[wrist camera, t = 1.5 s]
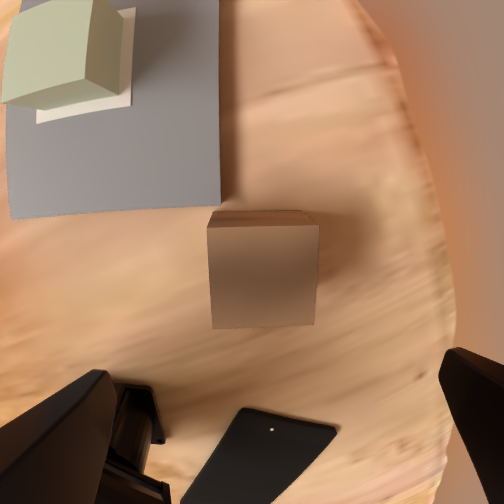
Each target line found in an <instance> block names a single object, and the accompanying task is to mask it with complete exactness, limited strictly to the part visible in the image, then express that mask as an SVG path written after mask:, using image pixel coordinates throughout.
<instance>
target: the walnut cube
mask: <svg viewBox="0 0 504 504" xmlns="http://www.w3.org/2000/svg"><path fill="white" fill-rule="evenodd" d="M207 245H208V264H209V281H210V296H211V310H212V324H213V329H232V328H261V327H282V326H299V325H314V318H315V304H316V288H317V271H318V250H319V225H318V224H317V223H316V222H315V221H313V220H312V219H311V218H310V217H308V216H307V215H306V214H305V213H303V212H302V211H301V210H274V211H229V212H213V213H212V216H211V218H210V221H209V223H208V226H207Z"/></svg>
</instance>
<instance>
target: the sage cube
mask: <svg viewBox="0 0 504 504" xmlns="http://www.w3.org/2000/svg"><path fill="white" fill-rule="evenodd" d="M122 29H123V17H122V16H121V15H120V14H119V13H118V11H117V10H116V9H115V8H114V7H113V6H112V4H111V3H110V2H109V1H108V0H51V1H48V2H45V3H43V4H40V5H38V6H35V7H33V8H31V9H28V10H26V11H24V12H21V13H19V14H17V15H15V16H13V18H12V23H11V27H10V32H9V38H8V44H7V50H6V56H5V64H4V72H3V81H2V92H1V103H2V104H9V105H15V106H21V107H27V108H33V109H39V110H44V111H46V110H50V109H54V108H58V107H63V106H67V105H71V104H76V103H81V102H86V101H91V100H96V99H101V98H107V97H113V96H119V74H120V55H121V41H122Z"/></svg>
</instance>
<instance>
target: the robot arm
mask: <svg viewBox="0 0 504 504" xmlns="http://www.w3.org/2000/svg"><path fill="white" fill-rule="evenodd" d="M438 378H439V382H440V385H441V387H442V390H443V392H444V395H445V398H446V400H447V403H448V406H449V409H450V412H451V414H452V417H453V420H454V422H455V425H456V427H457V429H458V431H459V433H460V435H461V438H462V440H463V442H464V444H465V446H466V449H467V451H468V453H469V456H470V458H471V460H472V462H473V465H474V467H475V469H476V472H477V475H478V477H479V479H480V482H481V484H482V487H483V490H484V492H485V495H486V497H487V500H488V503H489V504H504V365H502V364H499V363H497V362H495V361H493V360H490V359H488V358H485V357H483V356H480V355H478V354H476V353H473V352H471V351H468V350H466V349H463V348H461V347H456V348H451V349H448V350H447V351H446V352H445V355H444V358H443V361H442V364H441V367H440V370H439V374H438ZM145 392H148V393H145ZM165 441H166V437H165V433H164V430H163V426H162V423H161V419H160V415H159V412H158V408H157V404H156V400H155V396H154V392H153V390H152V388H151V387H149V386H142V385H127V384H115V383H112V380H111V377H110V374H109V373H108V371H106V370H99V369H93V370H91V371H89V372H88V373H86V374H84V375H83V376H81V377H80V378H78V379H77V380H75V381H74V382H72V383H70V384H69V385H67V386H66V387H64V388H63V389H61V390H59V391H58V392H56V393H55V394H53V395H52V396H50V397H48V398H47V399H45V400H44V401H42V402H41V403H39V404H37V405H36V406H34V407H33V408H31V409H29V410H28V411H26V412H25V413H23V414H22V415H20V416H18V417H17V418H15V419H14V420H12V421H10V422H9V423H7V424H6V425H4V426H2V427H1V428H0V504H171V496H170V487H169V484H167V483H165V482H163V481H161V482H160V481H158V480H155V479H153V478H151V477H149V476H147V475H144V469H145V465H146V461H147V456H148V452H149V448H150V444H160V445H162V444H165Z"/></svg>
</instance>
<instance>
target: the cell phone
mask: <svg viewBox="0 0 504 504" xmlns="http://www.w3.org/2000/svg"><path fill="white" fill-rule="evenodd" d="M336 435H337V432H336V429H335V428H334V427H332V426H328V425H322V424H317V423H312V422H307V421H302V420H297V419H292V418H288V417H283V416H279V415H275V414H271V413H267V412H263V411H259V410H255V409H250V408H243V409H241V410H239V412H238V413H237V415H236V417H235V418H234V420H233V421H232V423H231V425H230V426H229V428H228V429H227V431H226V433H225V434H224V436H223V437H222V439H221V441H220V442H219V444H218V445H217V447H216V448H215V450H214V451H213V453H212V454H211V456H210V458H209V459H208V461H207V462H206V464H205V465H204V467H203V468H202V470H201V471H200V473H199V474H198V476H197V477H196V479H195V480H194V481H193V483H192V484H191V486H190V487H189V489H188V490H187V492H186V493H185V495H184V496H183V497H182V499H181V500H180V504H270V503H271V502H273V501H274V500H275V499H276V498H277V497H278V496H279V495H280V494H281V493H282V492H283V491H284V490H285V489H286V488H287V487H288V486H289V485H291V484H292V483H293V482H294V481H295V480H296V479H297V478H298V477H299V476H300V475H301V474H302V472H303V471H304V470H305V469H306V468H307V467H308V466H309V465H310V464H311V463H312V462H313V461H314V460H315V459H316V458H317V457H318V456H319V454H320V453H321V452H322V451H323V450H324V449H325V448H326V447H327V446H328V444H329V443H330V442H331V441H332V440H333V439H334V437H335V436H336Z"/></svg>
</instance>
